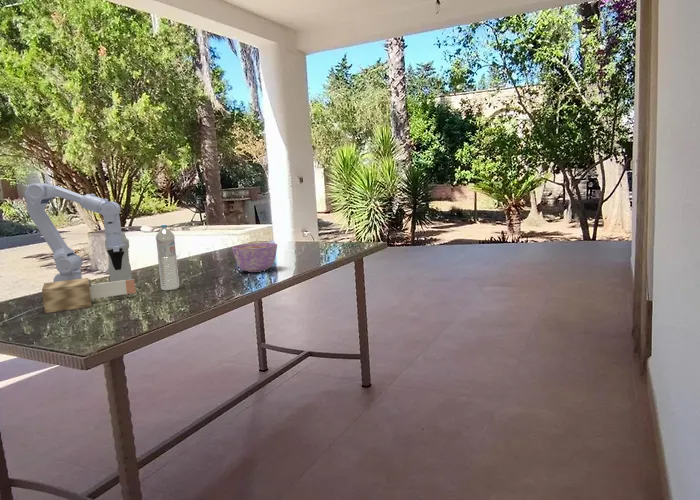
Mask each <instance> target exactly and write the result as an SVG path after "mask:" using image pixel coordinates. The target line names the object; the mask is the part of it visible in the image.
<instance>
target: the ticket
mask: <svg viewBox="0 0 700 500" xmlns="http://www.w3.org/2000/svg"><path fill="white" fill-rule="evenodd" d="M135 284H136V283H135V278H132V279H130V280H122V281H114V282H110V281H107V282H98V283H91V287H89V288H90V296H91V300H93V299H100V298H107V297H116V296H122V295H129V294H136V291H137V290H136V285H135Z"/></svg>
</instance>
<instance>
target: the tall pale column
mask: <svg viewBox="0 0 700 500" xmlns="http://www.w3.org/2000/svg"><path fill="white" fill-rule="evenodd" d="M121 233H122V242H123V244H126V246H123V247H120V248H122V249H123V250H122V251H124V254H123V258H122V267H121V270H115V269H114V267H113V264H112V260H111V257H110V255H109V254H108V252H107V250H111V249H112V248H106V239H105V240H104V247H105V249H106V253H107V257H108V273H109V274H108V275H109V282H114V281H122V280H130V279H133V275H132V273H133V272H132V267H131V263H130V256H129V255H130V254H129V252H130V250H129V248H130V241H129V240H130V239H128V238H127V236H126V233H125V232H123V231H121Z"/></svg>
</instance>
